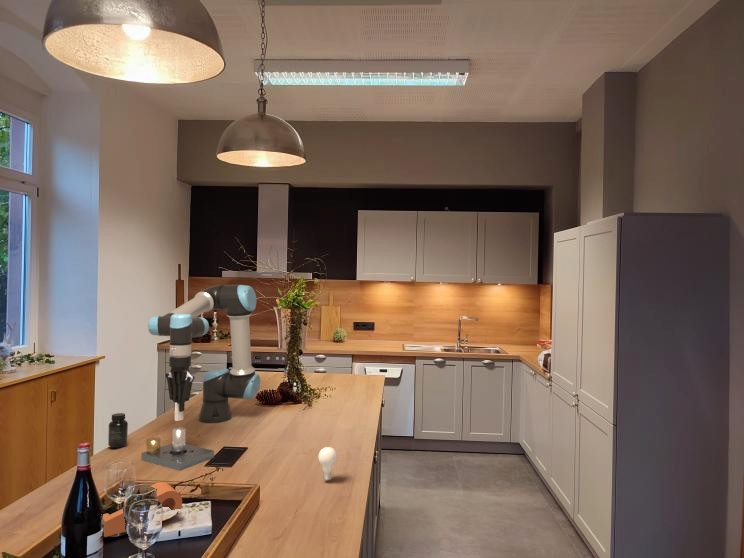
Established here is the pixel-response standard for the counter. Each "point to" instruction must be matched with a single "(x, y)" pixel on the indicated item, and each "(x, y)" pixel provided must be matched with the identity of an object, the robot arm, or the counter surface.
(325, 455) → the lightbulb
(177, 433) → the rounded peg
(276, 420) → the counter surface
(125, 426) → the supplement bottle
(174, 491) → the crank
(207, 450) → the plate
